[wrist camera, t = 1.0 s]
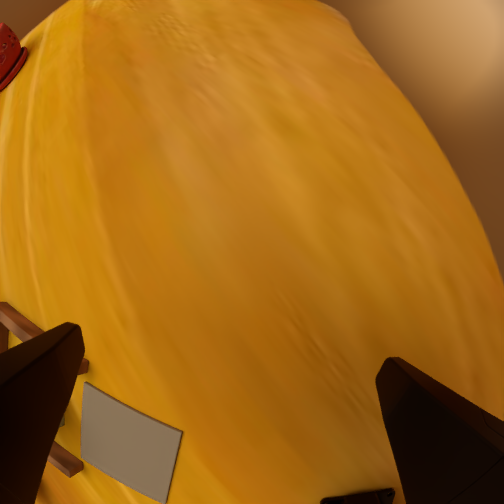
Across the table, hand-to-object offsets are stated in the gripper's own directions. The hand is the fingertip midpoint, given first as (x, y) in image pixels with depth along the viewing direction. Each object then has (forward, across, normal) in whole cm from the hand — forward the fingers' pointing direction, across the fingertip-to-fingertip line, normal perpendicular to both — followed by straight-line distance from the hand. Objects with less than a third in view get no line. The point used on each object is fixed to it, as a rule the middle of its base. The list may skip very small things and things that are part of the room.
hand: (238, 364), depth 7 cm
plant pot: (+42, +51, -20) cm, 69 cm away
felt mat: (+7, +8, +20) cm, 22 cm away
